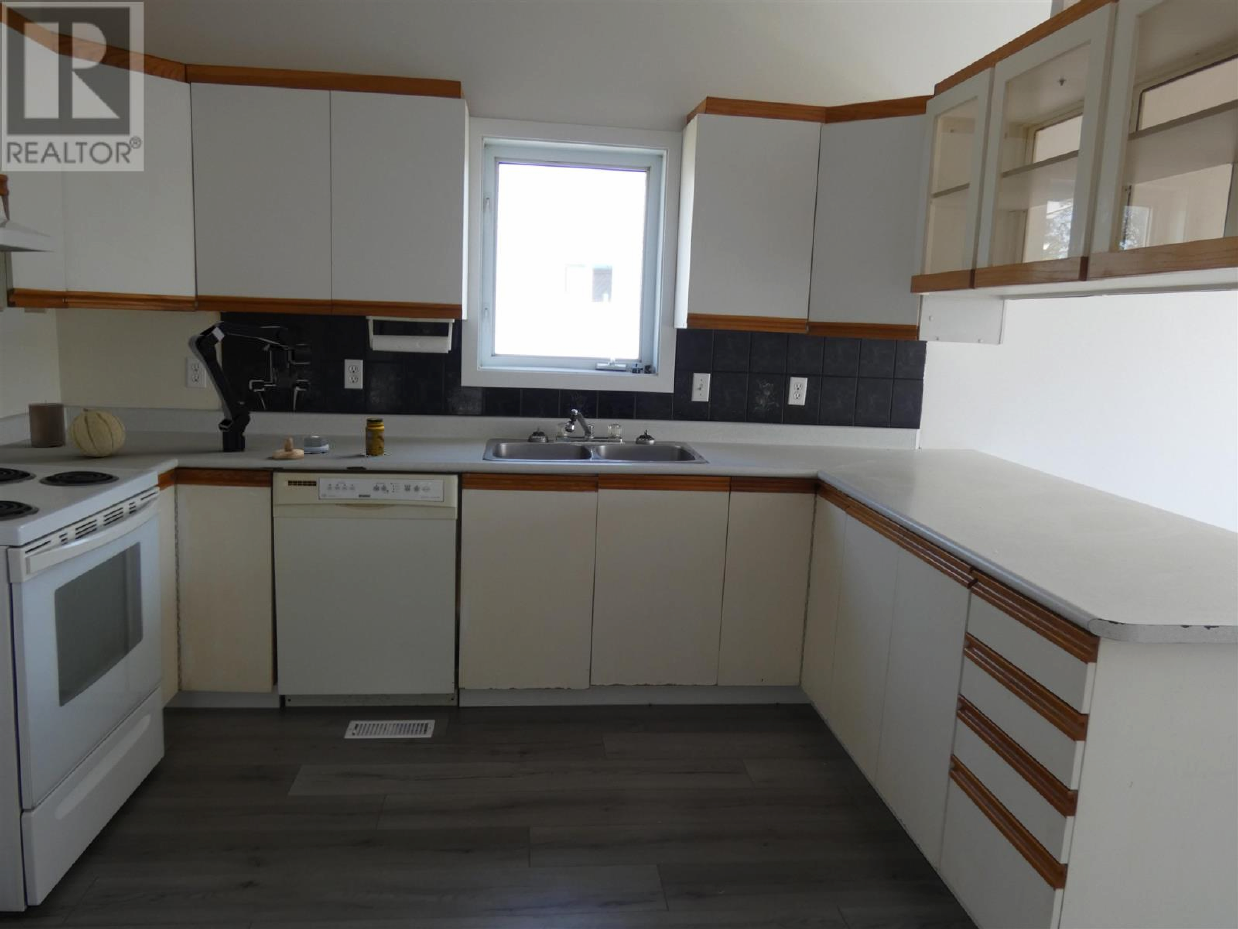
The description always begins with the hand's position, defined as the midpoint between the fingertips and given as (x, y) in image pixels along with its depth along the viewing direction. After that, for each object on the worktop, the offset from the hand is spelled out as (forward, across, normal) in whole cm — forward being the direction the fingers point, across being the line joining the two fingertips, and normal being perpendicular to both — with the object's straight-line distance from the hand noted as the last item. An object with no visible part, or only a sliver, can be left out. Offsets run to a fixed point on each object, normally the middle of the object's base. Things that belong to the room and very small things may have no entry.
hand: (280, 410), depth 299 cm
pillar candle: (+13, -68, +24) cm, 73 cm away
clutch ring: (+10, +8, -14) cm, 19 cm away
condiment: (+13, +24, -26) cm, 38 cm away
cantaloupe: (+13, -54, -5) cm, 56 cm away
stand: (+12, -2, -24) cm, 27 cm away
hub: (+12, +8, -14) cm, 20 cm away
